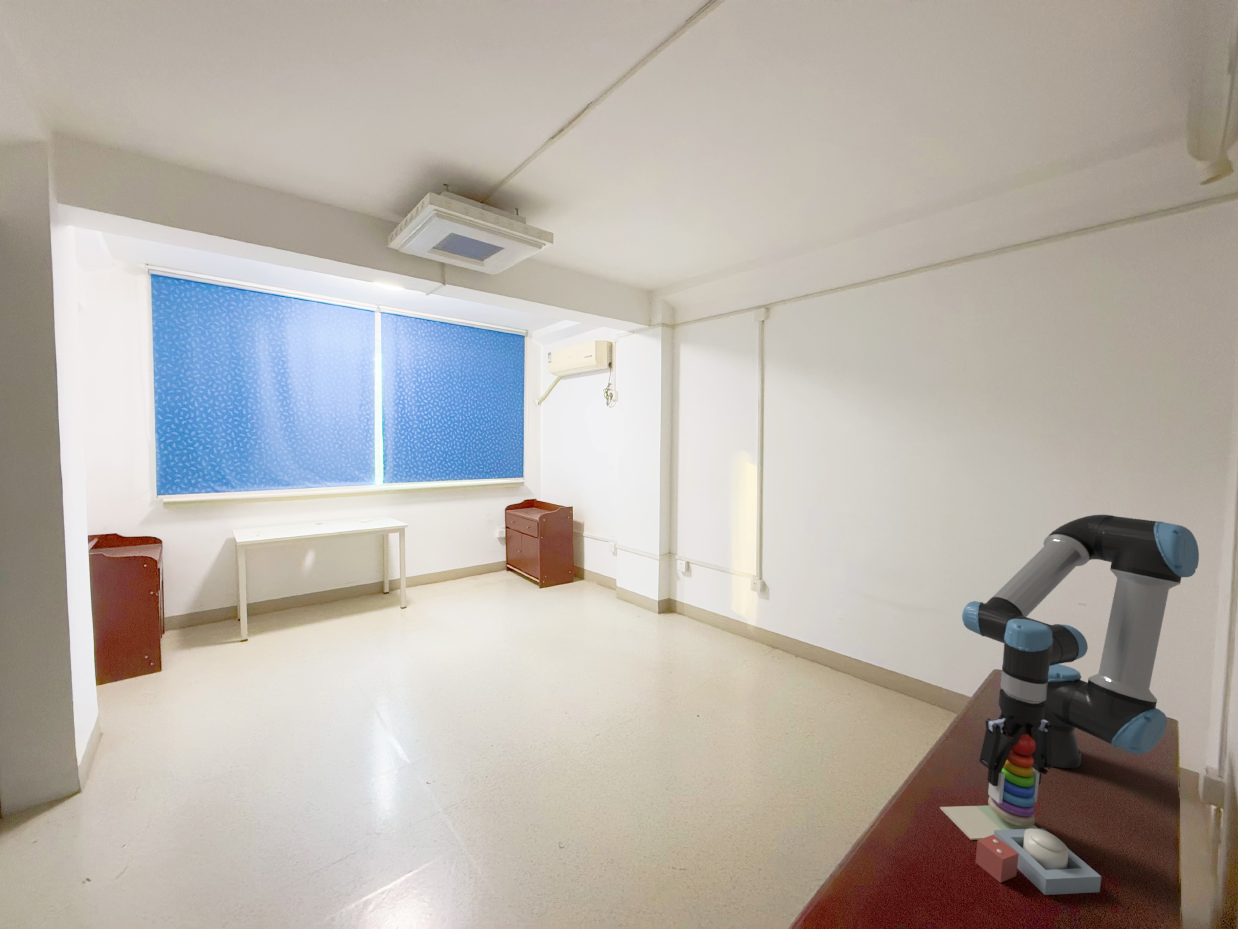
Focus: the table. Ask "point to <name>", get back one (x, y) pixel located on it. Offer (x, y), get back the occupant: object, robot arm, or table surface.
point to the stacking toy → (1018, 785)
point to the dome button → (1045, 849)
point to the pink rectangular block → (997, 858)
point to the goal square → (1001, 820)
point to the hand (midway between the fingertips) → (1012, 798)
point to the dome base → (1052, 881)
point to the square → (971, 821)
